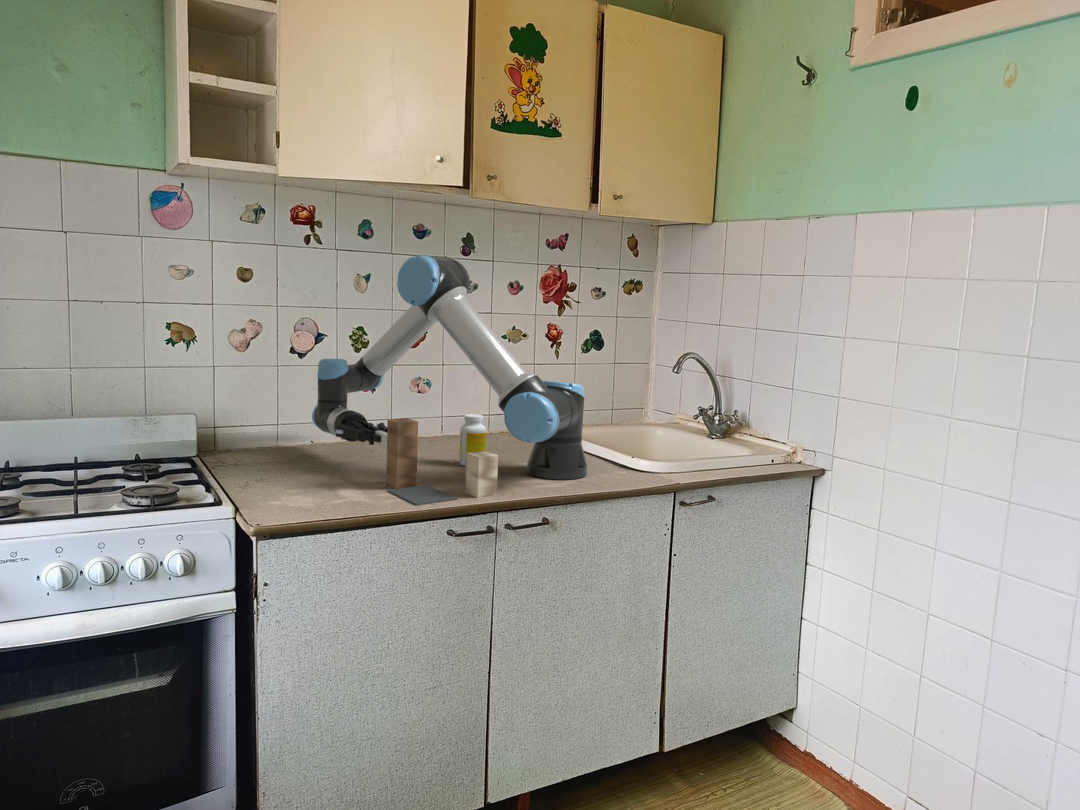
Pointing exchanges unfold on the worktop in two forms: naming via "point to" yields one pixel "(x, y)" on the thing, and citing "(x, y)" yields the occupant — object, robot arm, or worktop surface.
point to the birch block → (481, 474)
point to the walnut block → (402, 453)
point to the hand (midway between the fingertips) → (390, 441)
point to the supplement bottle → (472, 436)
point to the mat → (422, 494)
